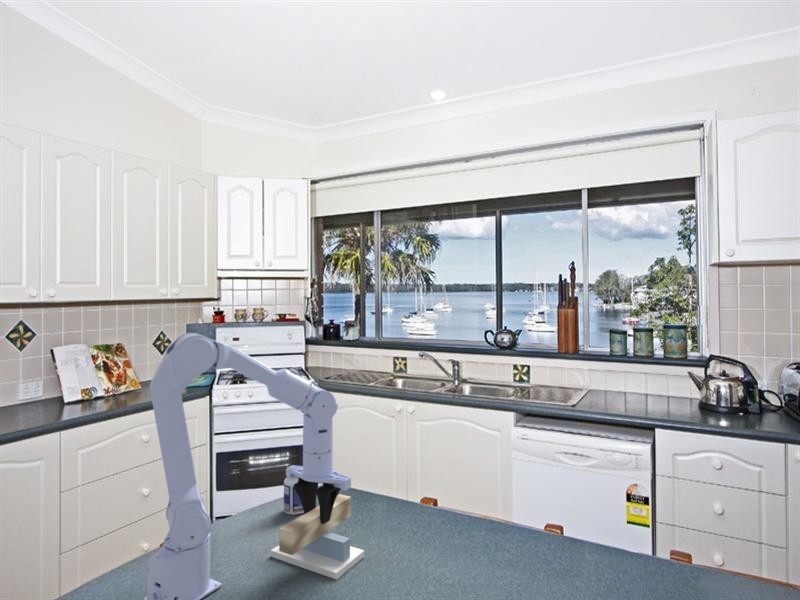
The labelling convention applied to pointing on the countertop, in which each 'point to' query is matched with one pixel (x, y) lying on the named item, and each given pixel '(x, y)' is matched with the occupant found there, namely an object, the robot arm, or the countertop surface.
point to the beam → (312, 526)
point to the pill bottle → (291, 497)
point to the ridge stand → (324, 555)
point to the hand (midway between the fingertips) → (317, 519)
